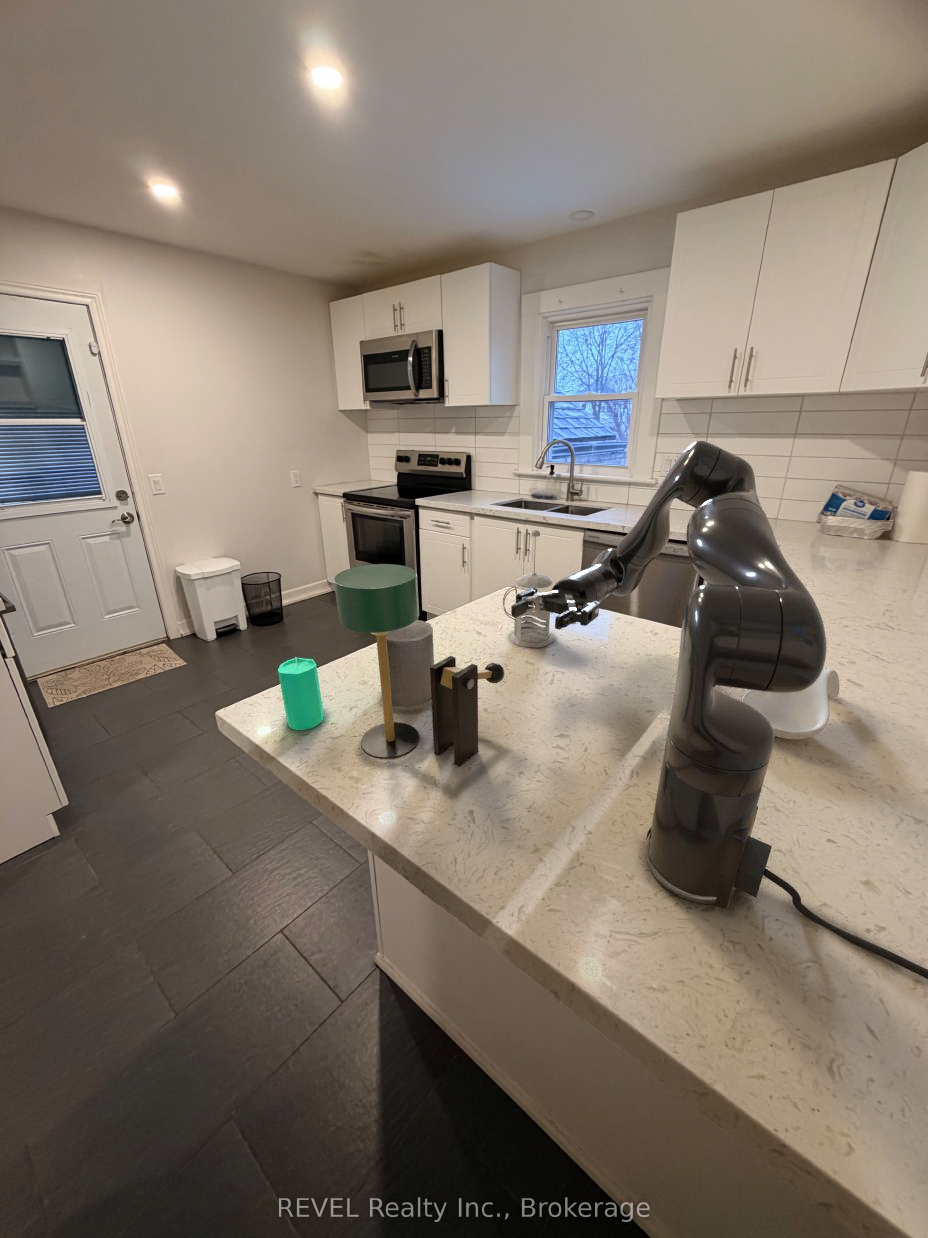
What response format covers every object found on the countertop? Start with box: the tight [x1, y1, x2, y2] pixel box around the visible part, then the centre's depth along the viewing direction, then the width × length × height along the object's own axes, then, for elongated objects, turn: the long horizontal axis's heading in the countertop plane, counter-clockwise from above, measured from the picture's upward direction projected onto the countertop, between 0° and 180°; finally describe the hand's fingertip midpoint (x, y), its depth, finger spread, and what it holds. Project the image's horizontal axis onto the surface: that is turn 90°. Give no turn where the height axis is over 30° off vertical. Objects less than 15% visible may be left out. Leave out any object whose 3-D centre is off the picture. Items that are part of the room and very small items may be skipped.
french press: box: [502, 529, 554, 648], centre depth 109 cm, size 10×12×25 cm
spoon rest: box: [740, 667, 840, 740], centre depth 82 cm, size 24×12×7 cm, turn 128°
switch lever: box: [440, 662, 505, 689], centre depth 73 cm, size 13×3×3 cm, turn 141°
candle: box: [277, 656, 325, 731], centre depth 82 cm, size 6×6×12 cm
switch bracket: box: [430, 655, 479, 768], centre depth 71 cm, size 12×9×16 cm
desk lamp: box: [333, 563, 421, 760], centre depth 71 cm, size 15×11×28 cm
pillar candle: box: [386, 619, 435, 707], centre depth 87 cm, size 10×10×15 cm
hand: (534, 617), depth 83 cm, fingers open, 8 cm apart
